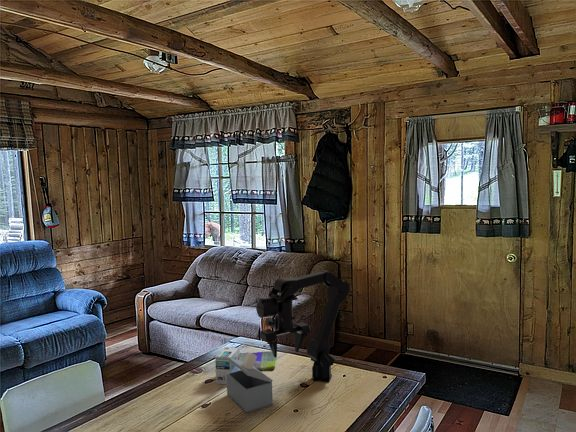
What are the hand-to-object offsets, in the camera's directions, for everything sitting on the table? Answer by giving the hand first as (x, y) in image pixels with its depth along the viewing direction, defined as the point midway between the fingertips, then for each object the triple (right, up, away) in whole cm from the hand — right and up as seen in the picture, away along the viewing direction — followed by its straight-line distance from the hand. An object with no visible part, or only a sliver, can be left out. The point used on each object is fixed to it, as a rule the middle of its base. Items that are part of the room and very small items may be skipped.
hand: (286, 354), depth 168 cm
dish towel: (-16, -12, +27) cm, 34 cm away
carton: (-13, -14, -7) cm, 20 cm away
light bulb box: (-23, -13, +12) cm, 29 cm away
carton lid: (-13, -3, -8) cm, 15 cm away
